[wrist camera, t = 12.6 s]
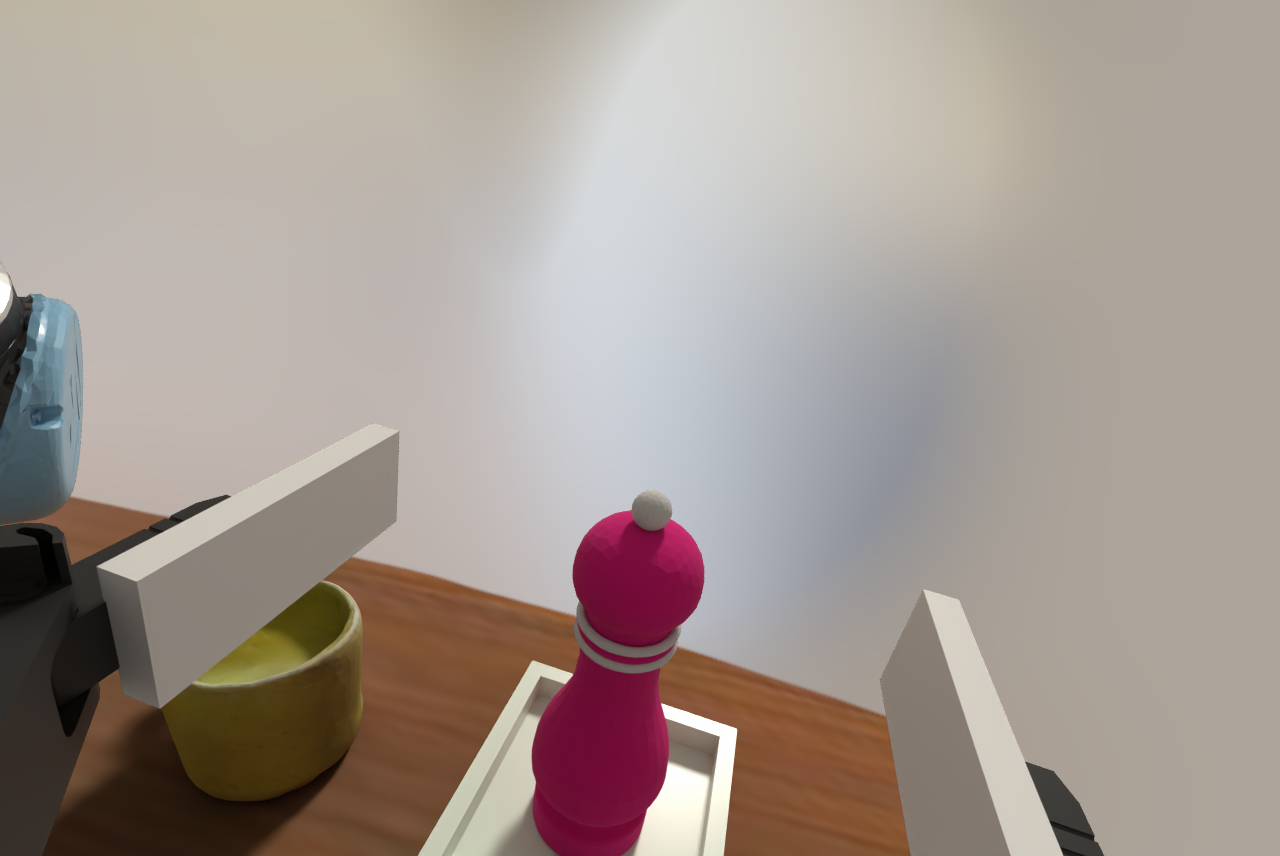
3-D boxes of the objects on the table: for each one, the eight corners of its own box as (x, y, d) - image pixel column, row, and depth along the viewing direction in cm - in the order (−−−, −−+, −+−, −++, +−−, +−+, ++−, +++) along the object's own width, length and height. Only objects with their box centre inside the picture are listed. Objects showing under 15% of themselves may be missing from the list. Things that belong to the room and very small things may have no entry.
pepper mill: (615, 908, 28) (705, 563, 21) (495, 827, 31) (538, 493, 24) (672, 789, 35) (756, 491, 27) (568, 729, 37) (620, 442, 30)
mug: (410, 762, 32) (342, 613, 29) (193, 876, 28) (85, 720, 25) (391, 641, 43) (340, 521, 39) (231, 712, 39) (159, 587, 35)
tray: (406, 902, 28) (408, 871, 27) (529, 686, 40) (532, 660, 40) (696, 1024, 25) (708, 995, 25) (728, 754, 38) (737, 728, 37)
